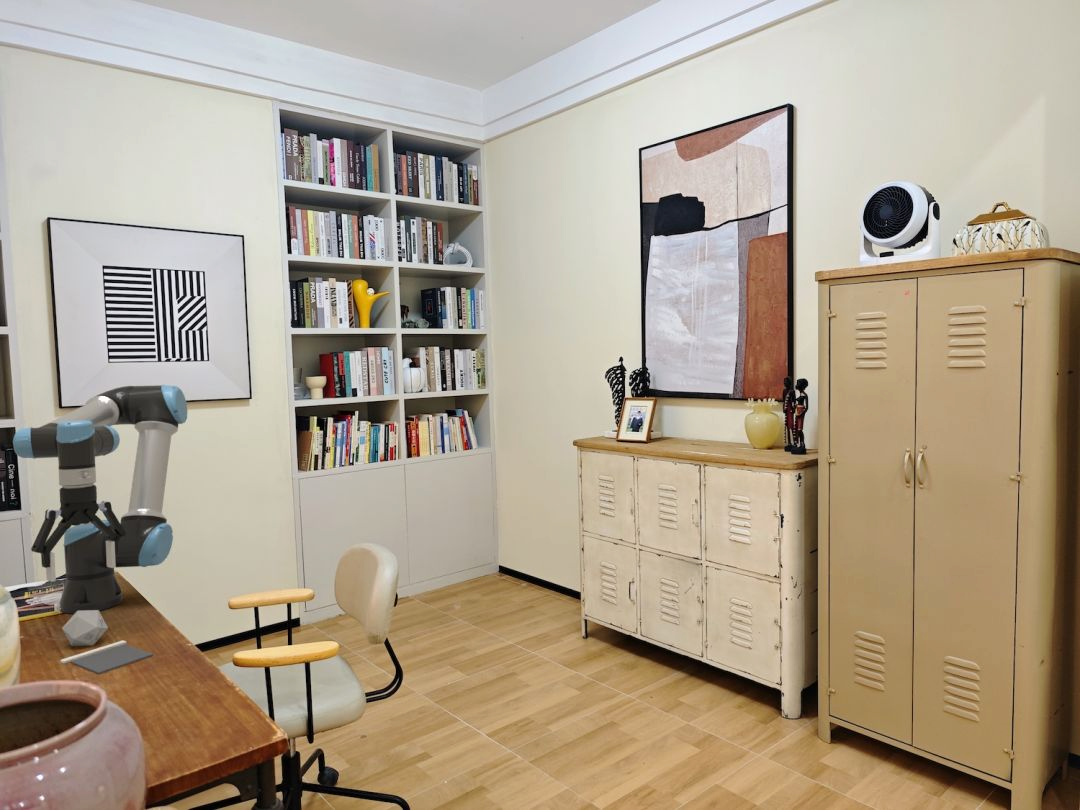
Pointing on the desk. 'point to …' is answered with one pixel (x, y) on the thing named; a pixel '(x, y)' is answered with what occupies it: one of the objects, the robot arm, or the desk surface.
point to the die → (85, 628)
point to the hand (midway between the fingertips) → (82, 573)
